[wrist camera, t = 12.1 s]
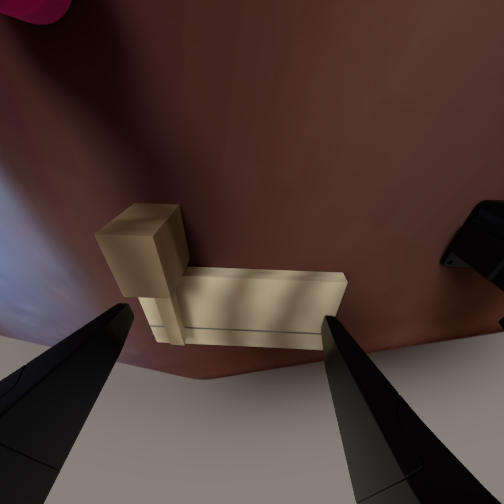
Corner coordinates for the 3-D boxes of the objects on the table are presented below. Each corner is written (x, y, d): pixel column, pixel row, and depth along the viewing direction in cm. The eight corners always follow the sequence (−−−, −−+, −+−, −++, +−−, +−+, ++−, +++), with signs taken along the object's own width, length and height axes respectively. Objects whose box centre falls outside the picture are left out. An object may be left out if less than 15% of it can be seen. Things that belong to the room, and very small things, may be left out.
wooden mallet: (179, 204, 19) (152, 236, 14) (201, 319, 28) (189, 361, 23) (134, 202, 19) (93, 234, 14) (171, 318, 28) (153, 359, 23)
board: (343, 272, 22) (347, 282, 21) (320, 339, 29) (322, 350, 28) (135, 264, 23) (128, 274, 21) (161, 332, 30) (156, 342, 28)
